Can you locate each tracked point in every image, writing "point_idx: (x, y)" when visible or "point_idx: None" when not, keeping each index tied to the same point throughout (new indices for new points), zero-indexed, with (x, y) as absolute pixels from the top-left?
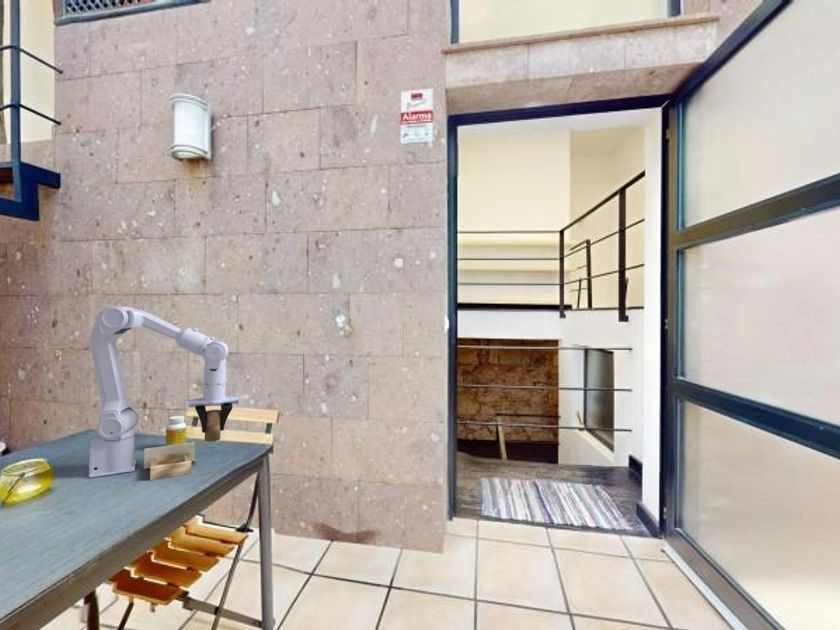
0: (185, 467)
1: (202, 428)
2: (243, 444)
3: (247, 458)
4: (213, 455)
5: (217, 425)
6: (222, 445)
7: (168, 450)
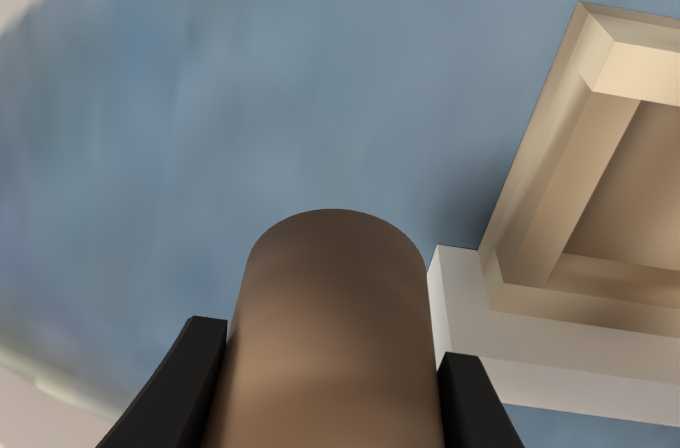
0: (650, 32)
1: (506, 413)
2: (56, 349)
3: (38, 66)
4: None
5: (278, 389)
6: None
7: (650, 360)
